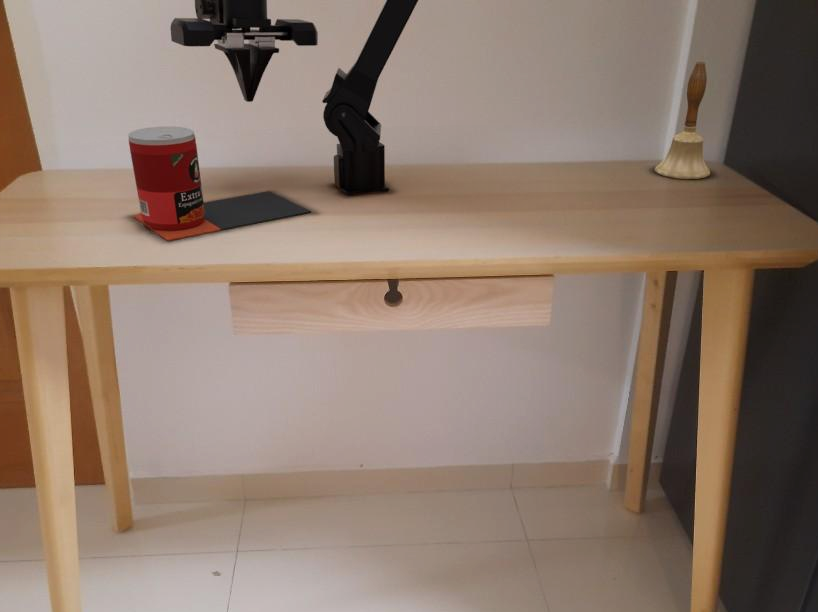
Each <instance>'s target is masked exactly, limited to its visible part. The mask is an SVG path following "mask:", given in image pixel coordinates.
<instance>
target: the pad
mask: <svg viewBox="0 0 818 612" xmlns="http://www.w3.org/2000/svg"><path fill="white" fill-rule="evenodd" d="M132 217H133V218H134V219H135V220H137V221H138V222H140V224H142V225H144V226H145V227H147V228H148V229H150V230H151V231H152V232H153V233H155V234H157V235H158V236H159V237H161V238H162V239H164V240H165V241H166V242H171V241H175V240H180V239H185V238H186V239H187V238H191V237H196V236H201V235H205V234H210V233H211V234H212V233H215V232H220V231H222V230H221V229H220V228H218V227H217V226H215V225H213V224H212V223H210V222H208V221H207V220H205V219H204V221H203V222H202V223H201V224H200V225H198V226H195V227H192V228H188V229H183V230H156V229H152V228H150V227H148V226H146V225H145V223H144V221H143V219H142V215H141V213H138V214H133V215H132Z"/></svg>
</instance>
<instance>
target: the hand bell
mask: <svg viewBox="0 0 818 612" xmlns="http://www.w3.org/2000/svg"><path fill="white" fill-rule="evenodd" d="M706 69H707V68H706V62H704V61H696V62H695V64H694V68H693V69H692V71H691V73H690V76H689V79H688V82H687V89H686V100H687V101H686V102H687V109H686V110H687V111H686V116H685V121H684V127H683V131H682V132H680V133H677V134H676V135H674V136H673V137H672V140H671V144H670V147H669V149H668V152H667V154H666V156H665V157H664V159H663V160H662V161H661V162H659V163H658V164H657V165H656V166H655V167H654V172H655V173H656V174H658V175H660V176H663V177H667V178H671V179H678V180H699V179H700V180H701V179H705V178H708V177H710V175H711V172H710V169H709V167H708V166H707V164H706V163H705V160H704V138H703V137H702V136H701V135H699V134H698V133H697V120H698V114H699V108H700V105H701V103H702V101H703V98H704V95H705V93H706V88H707V84H708V83H707V82H708V81H707V79H708V77H707V76H708V75H707V70H706Z"/></svg>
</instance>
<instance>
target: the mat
mask: <svg viewBox="0 0 818 612" xmlns="http://www.w3.org/2000/svg"><path fill="white" fill-rule="evenodd" d="M204 211H205V216H204V219H205V220H207V221H208V222H210V223H212V224H213V225H215V226H217V227H218V228H220V229H221V231H226V230H230V229H231V230H232V229H235V228H240V227H245V226H250V225H251V226H252V225H255V224H260V223H265V222H270V221H275V220H280V219H285V218H291V217H296V216H301V215H306V214H311V213H312V210H310V209H308V208H305V207H304V206H302V205H299V204H296V203H295V202H293V201H291V200H289V199H287V198H285V197H282V196H280V195H278V194H276V193H274V192H273V191H270V190H268V191H262V192H257V193H251V194H246V195H239V196H235V197H229V198H228V197H227V198H223V199H217V200H211V201H205V202H204Z"/></svg>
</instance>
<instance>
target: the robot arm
mask: <svg viewBox="0 0 818 612" xmlns="http://www.w3.org/2000/svg"><path fill="white" fill-rule="evenodd" d="M418 2H419V0H385V2H384V4H383V6H382V8H381V10H380V13H379V14H378V17H377V18H376V21H375V22H374V25H373V27H372V29H371V30H370V33H369V35H368V36H367V38H366V41H365V43H364V45H363V47H362V49H361V51H360V53H359V55H358V57H357V59H356V61H355V62H354V63H353V65H352V66H351V68H350V69H349V70H348V71H347V73H346V72H345V71H344V70H342V69H341V68H340V67H338V68H337V70H336V73H335V75H334V79H333V81H332V85H331V87H330V89H328V90H327V91H326V92H325V94H324V96H323V98H322V101H321V102H322V103H323V104H325V106H324V109H323V114H322V115H323V116H322V119H323V123H324V125H325V127H326V129H327V130H328V132H330V134H332V135H333V136H335V137H337V140H338V142H339V143H336V154H335V155H334V156H333V174H334V175H333V178H334V179H333V180H334V186H336V187H337V188H338V189H339V190H340V191H342V192H343V193H344V194H345V195H348V196H351V195H362V194H370V193H381V192H388V191H390V187H389V186H388V185H387V184H386V173H385V172H386V163H385V162H386V161H385V160H386V159H385V158H386V156H385V155H386V154H385V153H386V152H385V151H386V150H385V147H386V145H385V144H383V143H382V142H381V141H380V140H381V132H382V124H381V122H380V121H379V120H378V119H376V117H374V116H373V114H372V113H371V112H370V107H371V104H372V102H373V101H372V100H373V97H374V94H375V91H376V88H377V85H378V84H377V83H378V81H379V78H380V76H381V74H382V72H383V70H384V68H385V66H386V64H387V62H388V60H389V58H390V57H391V55H392V52H393V51H394V49H395V47H396V45H397V43H398V41H399V39H400V37H401V35H402V33H403V31H404V29H405V28H406V25H407V23H408V21H409V19H410V18H411V16H412V14H413V12H414V10H415V8H416V6H417V4H418ZM194 10H195V15H196V17H174V18H173V20H172V22H171V23H170V27H169V28H170V38H171V42H173V43H175V44H178V45H181V46H183V47H211V45H213V46H214V49H215V50H218V51H221V52H223V54H224V55H225V57H226V58H227V60H228V61H229V64H230V66H231V68H232V70H233V72H234V75H235V77H236V81H237V83H238V86H239V89H240V91H241V94H242V97H243V100H244V101H245V102H248V103H253V101H254V100H255V96H256V94H257V91H258V89H259V86H260V84H261V81H262V78H263V76H264V73H265V71H266V69H267V67H268V65H269V63H270V61H271V59H272V57H273V55H274V54H279V53H280V48H279V47H276V41H282V42H284V41H285V42H287V41H289V42H293V43H295V45H296V46H298V47H302V46H303V47H307V46H310V47H311V46H312V47H314V46H315V47H316V46H318V45H319V44H318V42H319V41H318V40H319V38H318V36H319V35H318V29H317V26H316V25H315V23H314V22H311V21H307V20H303V19H298V18H297V19H295V18H294V19H291V18H290V19H289V18H276V20H275V23H274V24H272V19H271V18H268V0H194ZM215 41H216V42H217V43H214V42H215ZM245 41H248V43H245ZM213 43H214V44H213Z"/></svg>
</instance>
